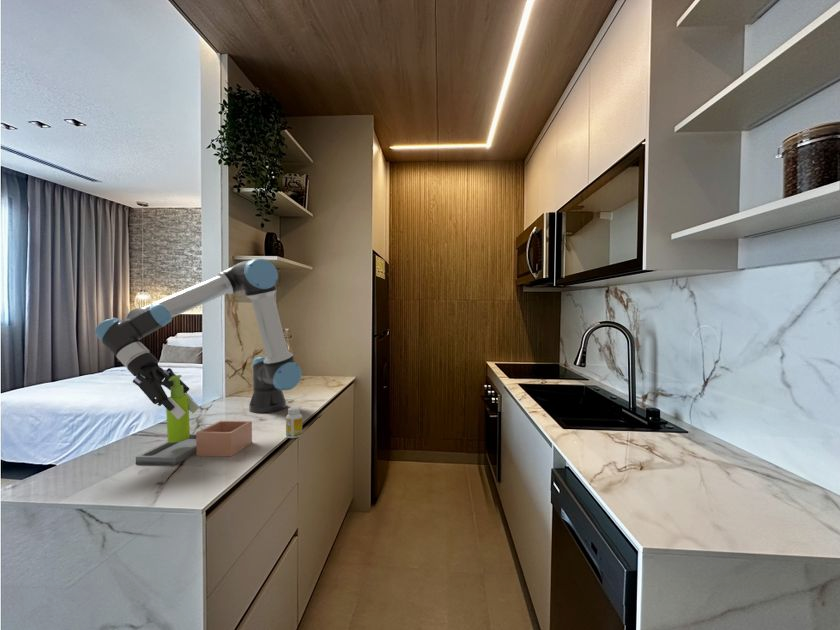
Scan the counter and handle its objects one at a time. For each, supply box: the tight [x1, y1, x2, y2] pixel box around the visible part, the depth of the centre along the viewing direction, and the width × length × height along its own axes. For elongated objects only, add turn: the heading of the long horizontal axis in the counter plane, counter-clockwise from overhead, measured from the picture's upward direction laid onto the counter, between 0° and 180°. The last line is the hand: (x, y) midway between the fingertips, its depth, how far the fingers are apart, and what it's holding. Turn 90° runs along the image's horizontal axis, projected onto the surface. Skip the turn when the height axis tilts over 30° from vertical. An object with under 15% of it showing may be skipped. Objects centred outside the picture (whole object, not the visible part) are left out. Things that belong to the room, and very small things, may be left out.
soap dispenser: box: [165, 374, 191, 442], centre depth 118 cm, size 6×7×20 cm
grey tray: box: [135, 433, 197, 466], centre depth 119 cm, size 20×12×2 cm, turn 176°
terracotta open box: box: [195, 420, 253, 457], centre depth 121 cm, size 12×11×7 cm
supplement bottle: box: [285, 406, 303, 439], centre depth 133 cm, size 5×5×10 cm
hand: (189, 413), depth 118 cm, fingers closed on soap dispenser, 6 cm apart
